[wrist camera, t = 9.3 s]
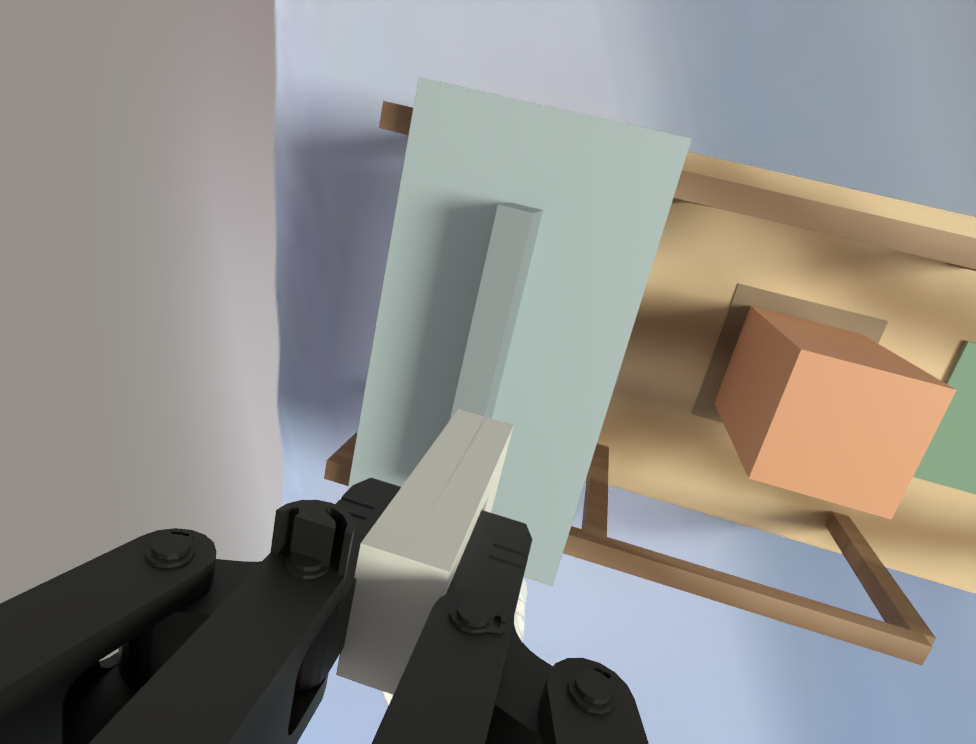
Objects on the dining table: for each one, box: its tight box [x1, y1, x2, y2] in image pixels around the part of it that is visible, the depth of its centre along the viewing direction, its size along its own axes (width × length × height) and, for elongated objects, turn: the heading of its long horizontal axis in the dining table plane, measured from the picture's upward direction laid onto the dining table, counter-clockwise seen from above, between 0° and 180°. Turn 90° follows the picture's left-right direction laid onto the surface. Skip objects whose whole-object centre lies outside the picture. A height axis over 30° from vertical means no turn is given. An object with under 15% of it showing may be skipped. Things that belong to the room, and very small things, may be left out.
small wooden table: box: [324, 101, 976, 665], centre depth 31 cm, size 20×38×13 cm, turn 77°
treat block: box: [714, 306, 956, 520], centre depth 30 cm, size 6×6×10 cm
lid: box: [348, 77, 691, 586], centre depth 24 cm, size 19×10×4 cm, turn 167°
